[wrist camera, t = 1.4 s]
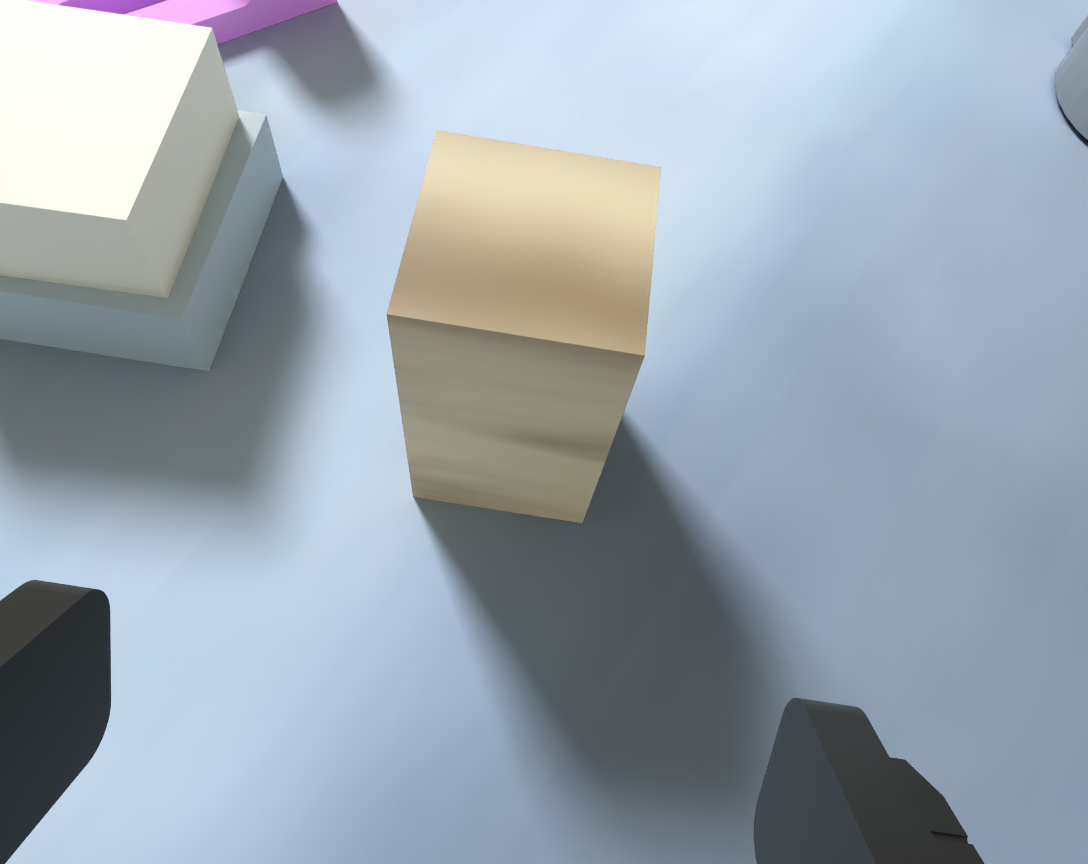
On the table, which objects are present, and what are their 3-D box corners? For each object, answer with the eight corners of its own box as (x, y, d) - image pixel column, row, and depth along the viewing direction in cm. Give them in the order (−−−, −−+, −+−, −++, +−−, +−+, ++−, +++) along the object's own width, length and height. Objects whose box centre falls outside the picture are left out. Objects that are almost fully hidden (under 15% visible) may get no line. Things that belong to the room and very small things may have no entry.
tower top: (10, 83, 28) (-46, -11, 25) (239, 116, 28) (212, 27, 25) (-97, 262, 24) (-178, 177, 21) (168, 298, 25) (126, 220, 22)
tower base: (57, 149, 32) (13, 73, 28) (285, 186, 32) (266, 114, 29) (-50, 338, 27) (-116, 273, 24) (213, 378, 28) (181, 319, 24)
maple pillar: (445, 354, 28) (436, 130, 19) (599, 378, 28) (660, 167, 19) (413, 496, 26) (386, 313, 17) (582, 523, 26) (644, 355, 17)
